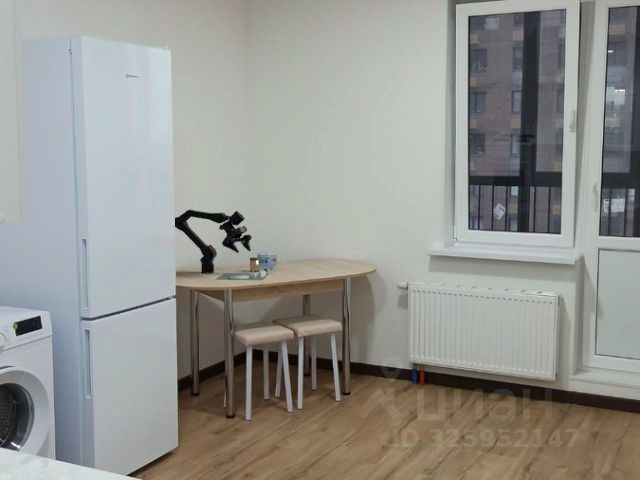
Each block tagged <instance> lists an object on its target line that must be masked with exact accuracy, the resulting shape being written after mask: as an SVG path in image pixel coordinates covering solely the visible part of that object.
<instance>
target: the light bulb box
mask: <svg viewBox="0 0 640 480" xmlns="http://www.w3.org/2000/svg"><path fill="white" fill-rule="evenodd" d="M257 257H258V258H259V270H261V271H266V273H269V272H278V253H276V252H258V253H257Z"/></svg>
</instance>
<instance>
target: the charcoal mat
mask: <svg viewBox="0 0 640 480" xmlns="http://www.w3.org/2000/svg"><path fill="white" fill-rule="evenodd" d="M234 275H244V272H224V273H222V274H221V275H219V276H218V277H217V278H215V280H216V281H219V280H222V281H223V280H224V281H234V280H233V279H229V276H234ZM269 275H270V273H269V272H266V276H264V277H249V279H243V280H242V281H264V280H265V279H266V278H267V277H268V276H269Z"/></svg>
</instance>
